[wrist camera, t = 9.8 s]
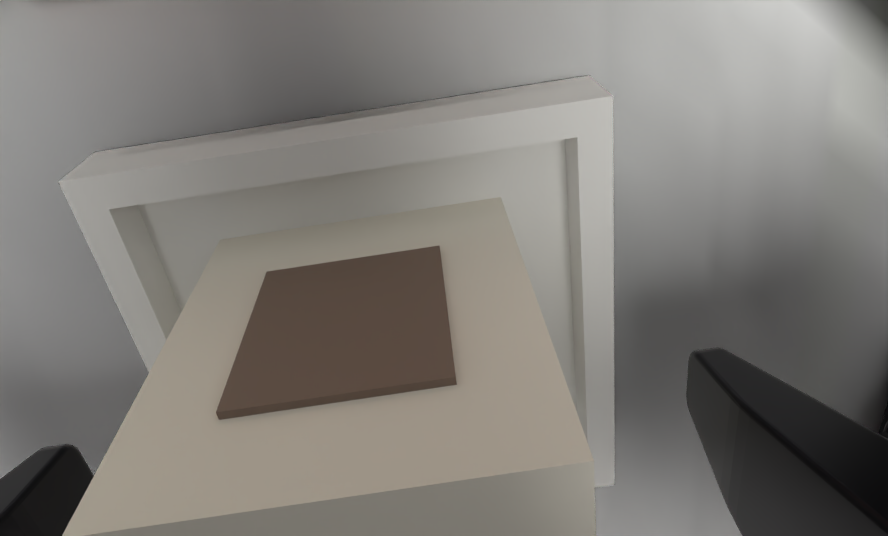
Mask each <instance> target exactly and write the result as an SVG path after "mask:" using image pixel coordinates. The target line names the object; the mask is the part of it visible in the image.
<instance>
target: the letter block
mask: <svg viewBox="0 0 888 536" xmlns="http://www.w3.org/2000/svg"><path fill="white" fill-rule="evenodd" d="M62 536H596V517H595V479H594V459H593V457H592V454H591V451H590V448H589V445H588V442H587V440H586V437H585V434H584V431H583V428H582V425H581V423H580V420H579V417H578V414H577V411H576V408H575V406H574V403H573V400H572V397H571V394H570V391H569V389H568V386H567V383H566V380H565V377H564V375H563V372H562V369H561V366H560V363H559V360H558V358H557V355H556V352H555V349H554V346H553V343H552V341H551V338H550V335H549V332H548V329H547V326H546V324H545V321H544V318H543V315H542V312H541V309H540V307H539V304H538V301H537V298H536V295H535V293H534V290H533V287H532V284H531V281H530V278H529V276H528V273H527V270H526V267H525V264H524V261H523V259H522V256H521V253H520V250H519V247H518V244H517V242H516V239H515V236H514V233H513V230H512V227H511V225H510V222H509V219H508V216H507V213H506V211H505V208H504V205H503V202H502V199H501V197H498V198H491V199H485V200H478V201H472V202H465V203H458V204H452V205H445V206H439V207H432V208H426V209H419V210H412V211H406V212H399V213H393V214H386V215H380V216H373V217H367V218H360V219H353V220H347V221H340V222H334V223H327V224H321V225H314V226H307V227H301V228H294V229H288V230H281V231H275V232H268V233H261V234H255V235H248V236H242V237H235V238H229V239H222V240H220V241H219V243H218V245H217V247H216V248H215V250H214V252H213V254H212V256H211V258H210V260H209V261H208V263H207V265H206V267H205V269H204V271H203V273H202V275H201V276H200V278H199V280H198V282H197V284H196V286H195V288H194V290H193V291H192V293H191V295H190V297H189V299H188V301H187V303H186V305H185V306H184V308H183V310H182V312H181V314H180V316H179V318H178V320H177V321H176V323H175V325H174V327H173V329H172V331H171V333H170V334H169V336H168V338H167V340H166V342H165V344H164V346H163V348H162V349H161V351H160V353H159V355H158V357H157V359H156V361H155V363H154V364H153V366H152V368H151V370H150V372H149V374H148V376H147V378H146V379H145V381H144V383H143V385H142V387H141V389H140V391H139V393H138V394H137V396H136V398H135V400H134V402H133V404H132V406H131V407H130V409H129V411H128V413H127V415H126V417H125V419H124V421H123V422H122V424H121V426H120V428H119V430H118V432H117V434H116V436H115V437H114V439H113V441H112V443H111V445H110V447H109V449H108V451H107V452H106V454H105V456H104V458H103V460H102V462H101V464H100V465H99V467H98V469H97V471H96V473H95V475H94V477H93V479H92V480H91V482H90V484H89V486H88V488H87V490H86V492H85V494H84V495H83V497H82V499H81V501H80V503H79V505H78V507H77V509H76V510H75V512H74V514H73V516H72V518H71V520H70V522H69V524H68V525H67V527H66V529H65V531H64V533H63V535H62Z"/></svg>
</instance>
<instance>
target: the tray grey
mask: <svg viewBox="0 0 888 536" xmlns="http://www.w3.org/2000/svg"><path fill="white" fill-rule="evenodd" d="M58 183H59V185H60V187H61V189H62V191H63V194H64V196H65V198H66V200H67V202H68V204H69V206H70V208H71V210H72V213H73V215H74V217H75V219H76V221H77V223H78V225H79V227H80V229H81V231H82V234H83V236H84V238H85V240H86V242H87V244H88V246H89V248H90V250H91V253H92V255H93V257H94V259H95V261H96V263H97V265H98V267H99V269H100V272H101V274H102V276H103V278H104V280H105V282H106V284H107V286H108V288H109V290H110V293H111V295H112V297H113V299H114V301H115V303H116V305H117V307H118V309H119V312H120V314H121V316H122V318H123V320H124V322H125V324H126V326H127V328H128V331H129V333H130V335H131V337H132V339H133V341H134V343H135V345H136V347H137V349H138V352H139V354H140V356H141V358H142V360H143V362H144V364H145V366H146V368H147V371H148V373H149V372H150V370H151V368H152V366H153V364H154V363H155V361H156V359H157V357H158V355H159V353H160V351H161V349H162V348H163V346H164V344H165V342H166V340H167V338H168V336H169V334H170V333H171V331H172V329H173V327H174V325H175V323H176V321H177V320H178V318H179V316H180V314H181V312H182V310H183V308H184V306H185V305H186V303H187V301H188V299H189V297H190V295H191V293H192V291H193V290H194V288H195V286H196V284H197V282H198V280H199V278H200V276H201V275H202V273H203V271H204V269H205V267H206V265H207V263H208V261H209V260H210V258H211V256H212V254H213V252H214V250H215V248H216V247H217V245H218V243H219V241H220V240H222V239H229V238H235V237H242V236H248V235H255V234H261V233H268V232H275V231H281V230H288V229H294V228H301V227H307V226H314V225H321V224H327V223H334V222H340V221H347V220H353V219H360V218H367V217H373V216H380V215H386V214H393V213H399V212H406V211H412V210H419V209H426V208H432V207H439V206H445V205H452V204H458V203H465V202H472V201H478V200H485V199H491V198H498V197H501V199H502V202H503V205H504V208H505V211H506V213H507V216H508V219H509V222H510V225H511V227H512V230H513V233H514V236H515V239H516V242H517V244H518V247H519V250H520V253H521V256H522V259H523V261H524V264H525V267H526V270H527V273H528V276H529V278H530V281H531V284H532V287H533V290H534V293H535V295H536V298H537V301H538V304H539V307H540V309H541V312H542V315H543V318H544V321H545V324H546V326H547V329H548V332H549V335H550V338H551V341H552V343H553V346H554V349H555V352H556V355H557V358H558V360H559V363H560V366H561V369H562V372H563V375H564V377H565V380H566V383H567V386H568V389H569V391H570V394H571V397H572V400H573V403H574V406H575V408H576V411H577V414H578V417H579V420H580V423H581V425H582V428H583V431H584V434H585V437H586V440H587V442H588V445H589V448H590V451H591V454H592V457H593V459H594V479H595V488H598V487H605V486H612V485H615V417H614V176H613V95H612V94H610V93H609V92H608V91H607V90H606V89H605V88H604V87H602V86H601V85H600V84H599V83H598V82H597V81H596V80H594V79H593V78H592V77H591V76H590V75H589V76H582V77H576V78H569V79H563V80H556V81H550V82H543V83H537V84H531V85H524V86H518V87H511V88H505V89H498V90H492V91H485V92H479V93H473V94H466V95H460V96H453V97H447V98H440V99H434V100H427V101H421V102H414V103H408V104H402V105H395V106H389V107H382V108H376V109H369V110H363V111H356V112H350V113H344V114H337V115H331V116H324V117H318V118H311V119H305V120H298V121H292V122H285V123H279V124H273V125H266V126H260V127H253V128H247V129H240V130H234V131H227V132H221V133H214V134H208V135H202V136H195V137H189V138H182V139H176V140H169V141H163V142H156V143H150V144H144V145H137V146H131V147H124V148H118V149H111V150H105V151H98V152H94V153H93V154H92V155H90V156H89V157H88V158H87V159H85V160H84V161H83V162H82V163H80V164H79V165H78V166H77V167H75V168H74V169H73V170H72V171H71V172H69V173H68V174H67V175H66V176H64V177H63V178H62V179H61V180H59V181H58Z"/></svg>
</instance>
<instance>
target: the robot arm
mask: <svg viewBox="0 0 888 536" xmlns="http://www.w3.org/2000/svg"><path fill="white" fill-rule="evenodd" d="M686 397H687V404H688V408H689V411H690V414H691V417H692V419H693V422H694V424H695V427H696V429H697V432H698V434H699V437H700V439H701V442H702V445H703V447H704V450H705V452H706V455H707V457H708V460H709V462H710V465H711V467H712V470H713V472H714V475H715V478H716V480H717V483H718V485H719V488H720V490H721V493H722V495H723V497H724V500H725V502H726V504H727V507H728V509H729V511H730V513H731V515H732V517H733V519H734V521H735V523H736V525H737V526H738V528H739V530H740V532H741V534H742V536H888V403H887V407H886V410H885V414H884V417H883V421H882V424H881V428H880V431H879V434H878V433H876V432H874V431H872V430H870V429H869V428H867V427H865V426H863V425H861V424H860V423H858V422H856V421H854V420H852V419H850V418H849V417H847V416H845V415H843V414H841V413H839V412H838V411H836V410H834V409H832V408H830V407H829V406H827V405H825V404H823V403H821V402H819V401H818V400H816V399H814V398H812V397H810V396H808V395H807V394H805V393H803V392H801V391H799V390H798V389H796V388H794V387H792V386H790V385H788V384H787V383H785V382H783V381H781V380H779V379H777V378H776V377H774V376H772V375H770V374H768V373H767V372H765V371H763V370H761V369H759V368H757V367H756V366H754V365H752V364H750V363H748V362H746V361H745V360H743V359H741V358H739V357H737V356H736V355H734V354H732V353H730V352H728V351H726V350H724V349H722V348H710V349H703V350H696V351H694V352H692V353H691V355H690V357H689V363H688V378H687V392H686ZM93 477H94V475H93V473H92V472H91V470H90V468H89V467H88V465H87V463H86V462H85V460H84V458H83V457H82V455H81V453H80V452H79V450H78V449H77V448H76V447H75V446H73V445H70V444H64V445H57V446H51V447H45V448H42V449H40V450H38V451H37V452H36V453H34V454H33V455H32V456H30V457H29V458H28V459H26V460H25V461H24V462H22V463H21V464H20V465H18V466H17V467H16V468H14V469H13V470H12V471H10V472H9V473H8V474H6V475H5V476H4V477H2V478H1V479H0V536H62V535H63V533H64V531H65V529H66V527H67V525H68V524H69V522H70V520H71V518H72V516H73V514H74V512H75V510H76V509H77V507H78V505H79V503H80V501H81V499H82V497H83V495H84V494H85V492H86V490H87V488H88V486H89V484H90V482H91V480H92V479H93Z"/></svg>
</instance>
